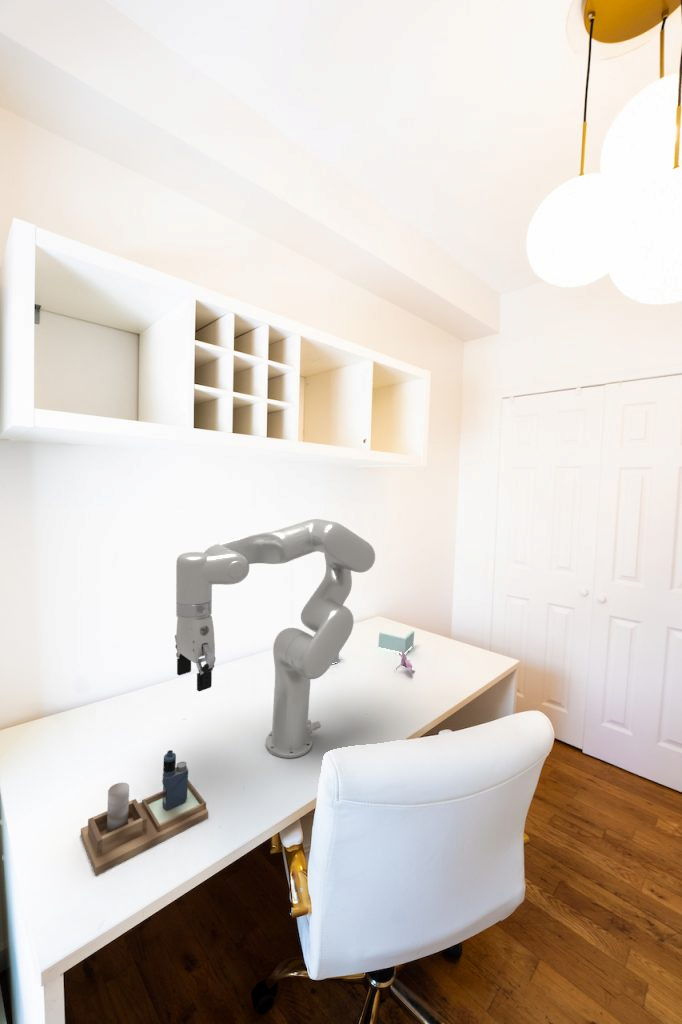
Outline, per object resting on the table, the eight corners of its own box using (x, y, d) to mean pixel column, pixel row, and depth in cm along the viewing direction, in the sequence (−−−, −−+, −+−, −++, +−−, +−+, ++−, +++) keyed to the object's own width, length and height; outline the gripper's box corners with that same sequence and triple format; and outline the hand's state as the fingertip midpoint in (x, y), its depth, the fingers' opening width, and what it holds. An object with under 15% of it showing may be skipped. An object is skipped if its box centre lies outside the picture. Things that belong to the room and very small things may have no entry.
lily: (402, 686, 159) (417, 664, 158) (379, 664, 165) (393, 643, 165) (413, 684, 168) (427, 664, 168) (391, 664, 175) (404, 644, 175)
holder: (185, 788, 98) (187, 744, 98) (207, 818, 90) (210, 770, 90) (80, 835, 84) (81, 784, 83) (95, 875, 76) (97, 819, 75)
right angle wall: (413, 647, 194) (414, 631, 194) (404, 656, 183) (405, 639, 183) (388, 641, 200) (389, 625, 199) (378, 650, 189) (379, 633, 188)
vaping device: (159, 805, 91) (161, 750, 90) (184, 794, 94) (186, 741, 94) (163, 813, 89) (166, 757, 88) (189, 801, 92) (191, 747, 92)
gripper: (229, 614, 94) (228, 689, 95) (192, 596, 106) (191, 663, 107) (196, 621, 88) (196, 701, 90) (161, 601, 101) (161, 672, 102)
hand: (193, 680), depth 99 cm, fingers open, 9 cm apart
